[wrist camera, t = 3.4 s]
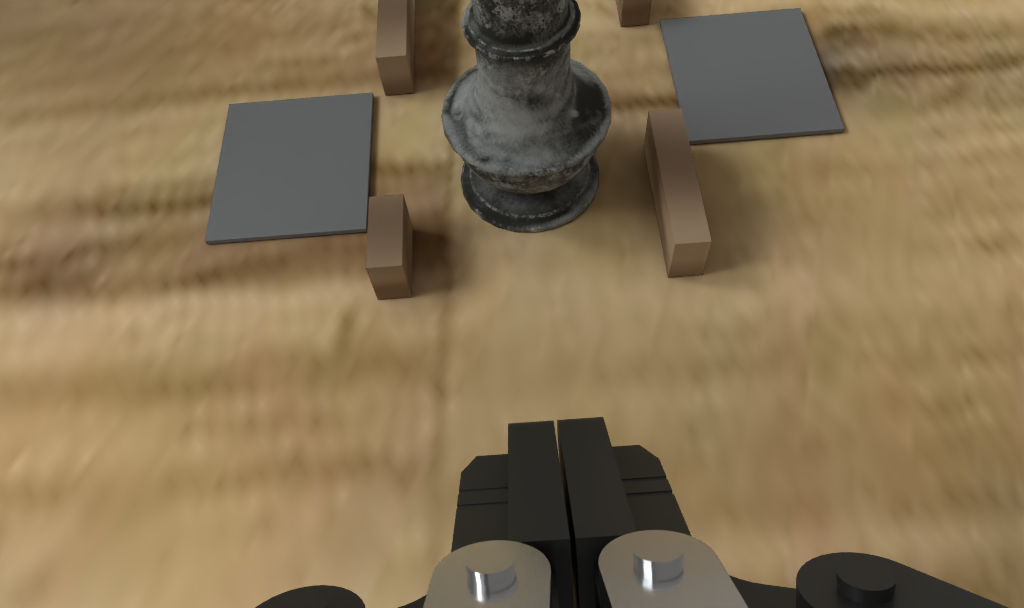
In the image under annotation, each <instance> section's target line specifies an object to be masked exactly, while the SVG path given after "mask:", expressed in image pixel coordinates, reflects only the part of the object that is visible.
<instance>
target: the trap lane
mask: <svg viewBox="0 0 1024 608" xmlns="http://www.w3.org/2000/svg"><path fill="white" fill-rule="evenodd" d="M616 3H617V9H618V14H619V19H620V24H621V27H622V26H634V25H646V24H649V16H650V7H651V0H616ZM414 58H415V0H379V1H378V22H377V43H376V61H377V64H378V68H379V72H380V76H381V80H382V84H383V88H384V91H385V95H395V94H407V93H414ZM644 152H645V157H646V162H647V168H648V173H649V178H650V184H651V189H652V194H653V200H654V205H655V210H656V216H657V221H658V226H659V231H660V237H661V242H662V247H663V253H664V258H665V263H666V269H667V274H668V277H680V276H693V275H703V271H704V268H705V264H706V261H707V257H708V253H709V250H710V246H711V243H712V240H711V236H710V231H709V227H708V223H707V218H706V214H705V210H704V205H703V201H702V196H701V192H700V188H699V183H698V179H697V175H696V170H695V166H694V161H693V157H692V153H691V148H690V144H689V140H688V135H687V131H686V126H685V122H684V118H683V113H682V109H681V108H678V109H665V110H653V111H648V119H647V127H646V135H645V142H644ZM412 239H413V228H412V224H411V220H410V217H409V213H408V209H407V206H406V202H405V198H404V195H403V194H399V195H386V196H374V197H369V211H368V232H367V254H366V270H367V273H368V275H369V278H370V280H371V283H372V286H373V288H374V291H375V293H376V296H377V299H378V300H380V299H393V298H406V297H412Z"/></svg>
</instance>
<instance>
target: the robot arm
mask: <svg viewBox="0 0 1024 608" xmlns="http://www.w3.org/2000/svg"><path fill="white" fill-rule="evenodd" d="M557 431H558V448H559V457H558V449H557V442H556V435H555V428H554V421H540V422H525V423H511V424H508V454H502V455H487V456H476V457H475V459H474V460H473V461H472V462H471V463H470V464H469V465H468V466H467V467H466V468H465V469H464V470H463V471H462V472H461V479H460V487H459V495H458V503H457V511H456V519H455V526H454V534H453V542H452V550H451V553H450V554H449V555H447V556H446V557H445V558H443V559H442V560H441V561H440V562H439V564H438V565H437V566H436V568H435V570H434V572H433V575H432V578H431V582H430V585H429V589H428V592H427V595H425V596H423V597H422V598H420V599H418V600H416V601H414V602H412V603H409V604H407V605H404V606H401V607H398V608H1008V607H1006V606H1003V605H1001V604H998V603H996V602H993V601H991V600H988V599H986V598H983V597H981V596H979V595H976V594H974V593H971V592H969V591H966V590H964V589H961V588H959V587H956V586H954V585H952V584H949V583H947V582H944V581H942V580H939V579H937V578H934V577H932V576H929V575H927V574H925V573H922V572H920V571H917V570H915V569H912V568H910V567H907V566H905V565H903V564H900V563H898V562H895V561H892V560H889V559H886V558H883V557H879V556H875V555H869V554H863V553H852V552H841V553H831V554H826V555H821V556H819V557H816V558H813V559H811V560H810V561H808V562H806V563H805V564H804V565H803V566H802V567H801V568H800V570H799V571H798V574H797V578H796V589H794V588H787V587H779V586H772V585H764V584H759V583H753V582H749V581H745V580H741V579H738V578H735V577H732V576H730V575H728V573H727V571H726V570H725V568H724V566H723V565H722V563H721V561H720V560H719V558H718V556H717V555H716V553H715V552H714V551H713V550H712V549H711V548H710V547H709V546H708V545H707V544H705V543H704V542H702V541H700V540H698V539H696V538H694V537H692V536H691V534H690V532H689V529H688V527H687V525H686V522H685V520H684V518H683V515H682V513H681V510H680V508H679V506H678V503H677V501H676V498H675V496H674V494H672V489H671V486H670V484H669V482H668V480H667V479H666V474H665V472H664V470H663V467H662V465H661V463H660V460H659V459H658V458H657V457H656V456H654V455H653V454H651V453H650V452H649V451H647V450H646V449H644V448H643V447H641V446H640V445H632V446H617V447H612V446H611V442H610V439H609V436H608V432H607V429H606V426H605V422H604V419H603V417H596V418H582V419H567V420H557ZM255 608H365V604H364V603H363V601H362V599H361V598H360V597H359V596H358V595H357V594H355V593H353V592H352V591H350V590H347V589H345V588H341V587H336V586H327V585H320V586H308V587H302V588H298V589H294V590H290V591H287V592H284V593H282V594H279V595H277V596H275V597H272V598H271V599H269V600H267V601H265V602H263V603H262V604H260V605H258V606H257V607H255Z"/></svg>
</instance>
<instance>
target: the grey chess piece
mask: <svg viewBox="0 0 1024 608" xmlns="http://www.w3.org/2000/svg"><path fill="white" fill-rule="evenodd" d="M580 18H581V13H580V10H579V7H578V4H577V2H576V1H575V0H472V1H471V2H470V3H469V5H468V7H467V9H466V10H465V12H464V15H463V20H462V27H463V32H464V36H465V38H466V39H467V41H468V42H469V44H470V45H471V46H472V47H473V48H475V52H476V60H477V65H476V66H474V67H472V68H471V69H469V70H468V71H466V72H465V73H464V74H463V75H462V76H461V77H460V78H459V79H458V80H457V81H456V82H455V83H454V84H453V85H452V87H451V89H450V91H449V92H448V94H447V96H446V98H445V100H444V105H443V110H442V116H441V117H442V122H443V128H444V133H445V136H446V138H447V139H448V141H449V143H450V144H451V146H452V148H453V150H454V151H456V152H457V153H458V154H459V155H460V156H461V157H462V159H463V161H464V162H465V163H464V165H463V169H462V176H461V183H462V189H463V194H464V197H465V199H466V200H467V202H468V204H469V206H470V207H471V209H472V210H473V211H474V212H475V213H476V214H478V215H479V216H480V217H481V218H482V219H483V220H485V221H487V222H489V223H490V224H492V225H494V226H496V227H498V228H502V229H506V230H510V231H514V232H530V233H535V232H541V231H546V230H552V229H555V228H557V227H559V226H562V225H564V224H567V223H569V222H571V221H572V220H573V219H575V218H576V217H577V216H579V215H580V214H581V213H583V212H584V211H585V209H586V208H587V207H588V205H589V204H590V203H591V202H592V200H593V199H594V196H595V193H596V191H597V188H598V183H599V168H598V165H597V162H596V159H595V156H594V153H595V151H596V149H597V147H598V146H599V145H600V143H601V142H602V141H603V140H604V139H605V136H606V134H607V131H608V128H609V126H610V123H611V101H610V98H609V95H608V92H607V89H606V87H605V86H604V85H603V83H602V82H601V81H600V79H599V78H598V77H597V76H596V74H594V73H593V72H592V71H590V70H589V69H588V68H586V67H585V66H584V65H582V64H581V63H579V62H577V61H575V60H572V59H570V41H571V40H572V39H573V38H574V37H575V36H576V33H577V31H578V29H579V27H580Z"/></svg>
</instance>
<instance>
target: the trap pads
mask: <svg viewBox="0 0 1024 608" xmlns="http://www.w3.org/2000/svg"><path fill="white" fill-rule="evenodd" d="M660 25H661V30H662V34H663V38H664V43H665V47H666V52H667V56H668V60H669V65H670V69H671V74H672V78H673V83H674V87H675V91H676V96H677V100H678V105H679V108H681V109H682V113H683V118H684V122H685V126H686V131H687V135H688V140H689V144H701V143H713V142H726V141H738V140H751V139H764V138H776V137H789V136H801V135H814V134H826V133H839V132H843V131H844V126H843V123H842V120H841V118H840V115H839V112H838V110H837V107H836V104H835V101H834V99H833V96H832V93H831V91H830V88H829V85H828V82H827V80H826V77H825V74H824V72H823V69H822V66H821V63H820V61H819V58H818V55H817V53H816V50H815V47H814V44H813V42H812V39H811V36H810V34H809V31H808V28H807V25H806V23H805V20H804V17H803V15H802V12H801V9H800V8H795V9H783V10H771V11H759V12H746V13H734V14H722V15H710V16H698V17H686V18H674V19H662V20H660ZM373 97H374V96H373V93H362V94H350V95H338V96H325V97H313V98H301V99H288V100H276V101H264V102H252V103H239V104H229V109H228V114H227V120H226V126H225V131H224V137H223V143H222V148H221V154H220V160H219V165H218V171H217V176H216V182H215V188H214V193H213V199H212V205H211V210H210V216H209V222H208V227H207V233H206V238H205V242H206V243H207V244H218V243H230V242H243V241H256V240H269V239H282V238H294V237H307V236H320V235H333V234H346V233H358V232H367V223H368V202H369V181H370V160H371V139H372V118H373Z"/></svg>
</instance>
